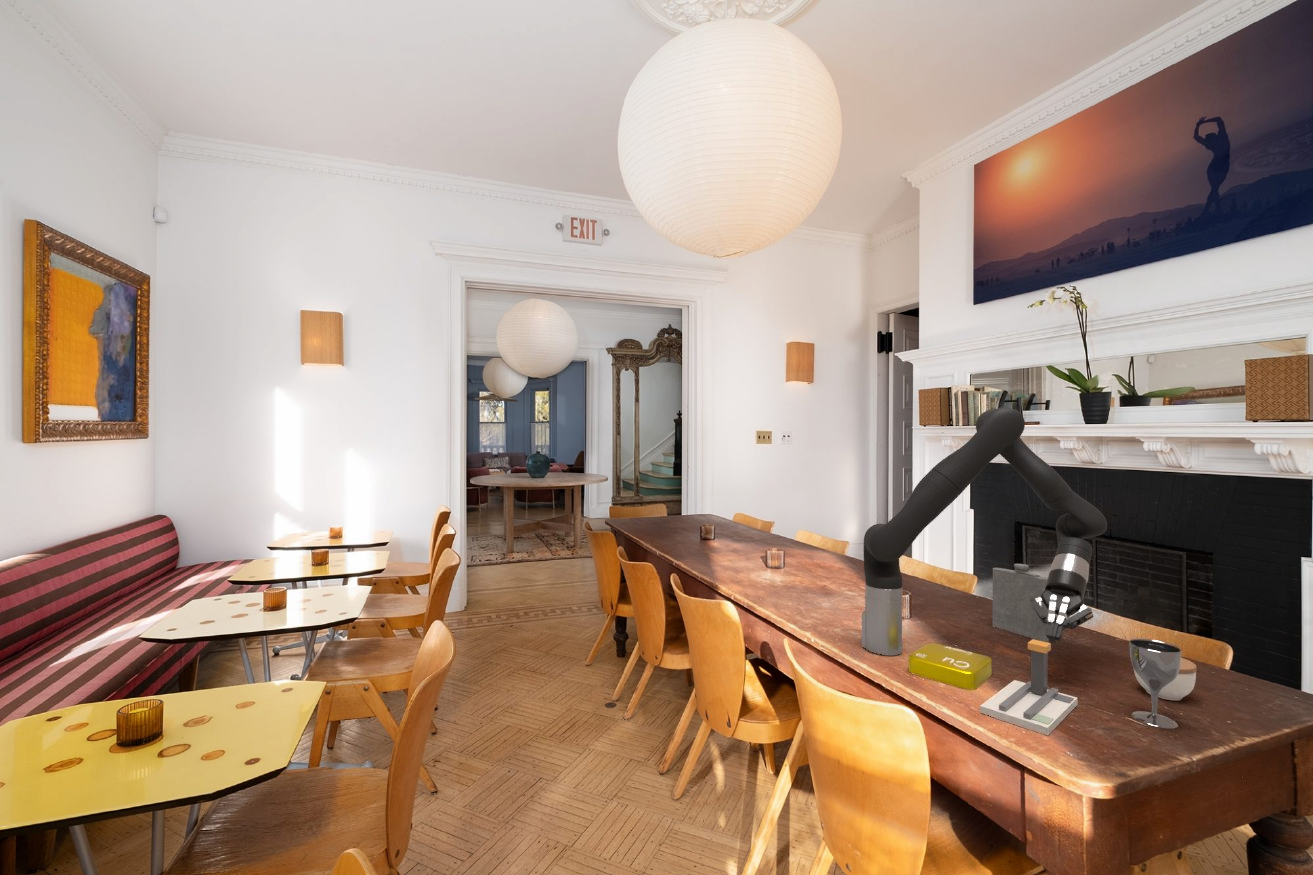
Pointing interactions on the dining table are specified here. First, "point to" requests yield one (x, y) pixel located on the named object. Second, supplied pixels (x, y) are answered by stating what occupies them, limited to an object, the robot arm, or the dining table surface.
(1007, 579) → the hip flask
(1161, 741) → the dining table surface
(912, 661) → the element tile
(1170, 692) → the lidded jar
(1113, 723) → the dining table surface
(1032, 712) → the switch panel
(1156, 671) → the wine glass
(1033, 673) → the lever
